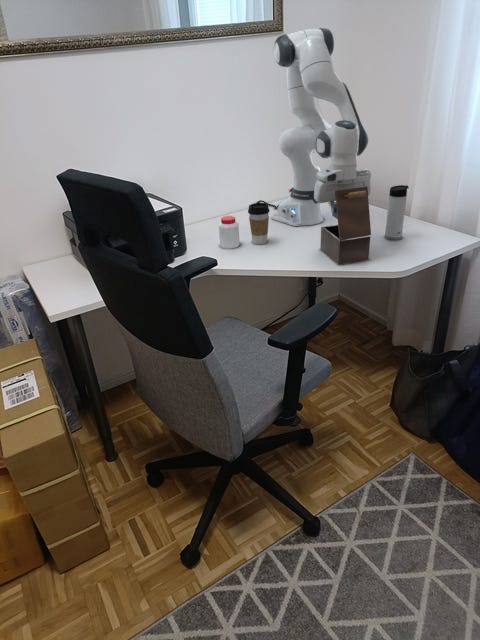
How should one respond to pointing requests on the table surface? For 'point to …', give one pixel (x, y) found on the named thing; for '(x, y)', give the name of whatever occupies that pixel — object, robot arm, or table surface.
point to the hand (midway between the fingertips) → (341, 211)
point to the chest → (344, 246)
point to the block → (336, 212)
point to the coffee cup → (259, 222)
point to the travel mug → (396, 212)
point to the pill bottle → (229, 232)
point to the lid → (353, 213)
